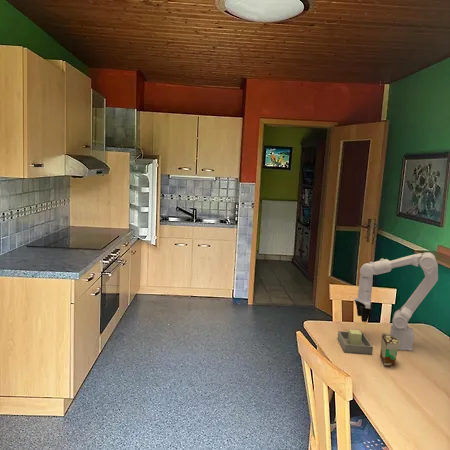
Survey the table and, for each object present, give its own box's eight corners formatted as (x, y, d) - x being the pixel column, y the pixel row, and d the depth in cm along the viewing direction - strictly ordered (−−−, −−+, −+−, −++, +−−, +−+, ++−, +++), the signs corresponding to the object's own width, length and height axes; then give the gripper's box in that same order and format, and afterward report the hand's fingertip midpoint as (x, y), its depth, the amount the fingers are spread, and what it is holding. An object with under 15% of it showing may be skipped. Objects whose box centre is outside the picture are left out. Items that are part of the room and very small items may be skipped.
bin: (362, 340, 196) (363, 333, 195) (372, 354, 180) (373, 347, 180) (337, 338, 196) (338, 331, 196) (344, 352, 181) (345, 344, 180)
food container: (400, 370, 167) (403, 346, 166) (384, 368, 168) (386, 344, 167) (394, 357, 179) (397, 334, 178) (379, 355, 180) (382, 332, 179)
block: (358, 343, 190) (359, 330, 189) (360, 347, 186) (362, 334, 185) (347, 342, 190) (349, 329, 190) (350, 346, 186) (351, 333, 185)
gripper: (352, 284, 202) (349, 312, 204) (360, 293, 188) (357, 323, 190) (367, 286, 202) (364, 313, 204) (376, 295, 187) (373, 324, 189)
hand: (362, 318), depth 197 cm, fingers open, 7 cm apart
